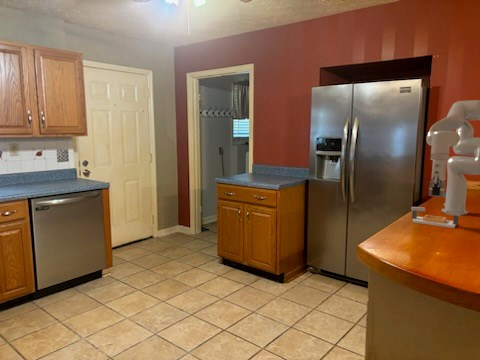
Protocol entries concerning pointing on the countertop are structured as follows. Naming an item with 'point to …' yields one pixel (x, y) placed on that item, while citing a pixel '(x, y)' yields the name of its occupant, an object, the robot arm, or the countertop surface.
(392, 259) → the countertop surface
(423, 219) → the stand
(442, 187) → the block
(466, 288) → the countertop surface
